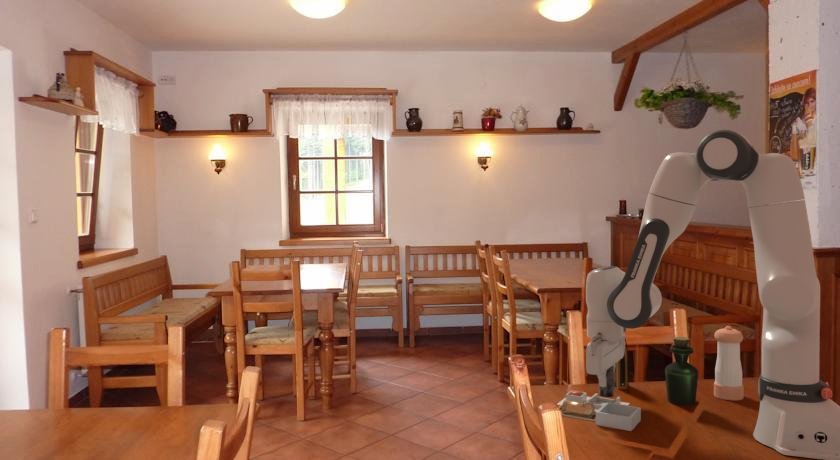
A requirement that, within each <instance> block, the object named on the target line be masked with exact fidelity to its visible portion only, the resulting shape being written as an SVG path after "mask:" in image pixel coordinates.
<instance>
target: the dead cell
mask: <svg viewBox="0 0 840 460" xmlns="http://www.w3.org/2000/svg"><path fill="white" fill-rule="evenodd" d="M606 372H607V373H606V379H608V385H607V386H606V387H600V386H599V385H598V396H599V397H603V398H612V397H615V396H616V395H615V394H616V393H615V391H616V390H615V386H614V368H613V367H610V368H609V369H608V370H606Z"/></svg>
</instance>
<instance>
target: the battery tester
mask: <svg viewBox="0 0 840 460" xmlns="http://www.w3.org/2000/svg"><path fill="white" fill-rule="evenodd" d="M571 391H574V390H570V391H568V392H567V393H565V397H564V398H563V399H562V400H560V401H559V402H558V403H556V405H557V406H560V405H562V404H563V402H564V400H570V401H576V402H582V403H588V404H593V405H594V407H595V411H598V410H599V409H600V408H601V407H602V406H603V405H604V404H605V403H606V402H608V403H615V404H621V405H627V406H630V404H631V403H630V402H626V401H625V402H624V401H621V396H617V397H615V399H614V398H610V397H602V396H599V392H598V393H594V394H593V395H592V396H588V394H587V392H584V391H581V392H582V395H581V396H574V395H571Z"/></svg>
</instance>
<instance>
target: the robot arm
mask: <svg viewBox="0 0 840 460" xmlns="http://www.w3.org/2000/svg"><path fill="white" fill-rule="evenodd" d="M710 181H711V182H712V181H722V182H724V181H726V182H727V181H737V182H739V183H740V184H742V187H743V189H744V193H745V196H746V197H745V198H746V202H747V203H746V204H747V209H748V214H749V215H748V217H749V222H750V227H751V234H752V235H751V236H752V241H753V248H754V249H753V250H754V261H755V271H756V272H755V273H756V282H757V289H758V297H759V301H760V304H761V306H762V308H763V310H762V311H763V312H762V313H763V315H762V331H761V373H760V374H759V376H758V377H759V378H758V399H759V400H760V401H759V410H758V416H757V421H756V424H755V428H754V431H753V433H752V436H753V438H754V440H755V441H758V442H759V443H761V444H762V445H765V446H767V447H770V448H771V449H773V450H776V451H777V452H778V453H780V454H782V455H783V456H784V455H785V456H788V457H789V456H792V457H800V458H808V459H815V460H816V459H817V460H840V405H838V404H837V403H836V402H835V401H833V400H832V399H831V398H832V397H833V391H832V389H831V386H830V385H829V382H827V381H826V382H824V381H823V380H821V379H820V338H821V337H820V334H821V333H820V332H821V331H820V330H821V327H820V326H821V311H820V310H821V284H820V280H819V278H818V276H817V270H816V264H815V258H814V257H815V256H814V250H813V243H812V234H811V228H810V223H809V217H808V211H807V204H806V198H805V194H804V189H803V183H802V181H801V177H800V175H799V172H798V168H797V167H796V164H795V162H794V160H793V159H792V158H791V157H790V156H788V155H786V154H783V153H776V152H770V153H758V151H756V149H755V148H754V146H753V145H752V143H751V142H750V140H749V139H748V138H747V137H746V136H745V135H743V134H741V133H739V132H736V131H734V130H730V129H720V130H719V129H718V130H715V131H712V132H709V133H708V134H706V135H705V136H704V137H703V138H702V139H701V141H700V142H699V143H698V145H697V148H696V152H694V153H693V152H692V153H690V152H685V151H684V152H683V151H677V152H673V153H669V154H667V155H666V156H665V157H664V158H663V160H662V162H661V163H660V166H659V167H658V169H657V171H656V173H655V176H654V178H653V180H652V183H651V186H650V189H649V191H648V194H647V197H646V201H645V205H644V210H643V215H642V219H641V223H640V224H641V225H640V227H639V228H640V229H639V233H638V237H637V240H636V243H635V246H634V249H633V252H632V254H631V258H630V260H629V263H628V265H627V267H626V271H623V270H622V269H620V268H619V267H618V266H616V265H607V266H602V267H598V268H597V267H596V268H593V269H592V270H590V271H589V272H588V273H587V276H586V281H585V282H586V283H585V303H586V307H587V313H586V337H588V338H590V339H591V341H590V342H588V343H587V346H586V350H585V351H586V354H585V355H586V356H585V357H586V359H585V360H586V361H585V364H586V365H585V367H586V368H585V370H586V373H587V374H588V375H595V376H597V379H598V387H599V386H600V387H606V386H607V385H608V379H606V373H607V372H606V370H608V369H609V368H610V367H613V368H614V371H615V363H617V362H618V361H619V360H620V359H622V358H623V356H624V351H625V347H626V343H625V338H626V334H625V333H626V332H627V330H628V329H629V330H630V329H638V328H640V327H642V326H643V325H646V323H647V322H648V320H649V319H650V318H651V317H653V316H654V315H656V313H657V312H658V311H659V310H660V308H661V306H662V303H663V295H662V292H661V290H660V287H659V286H657V284H655V283H653V282H654V280H655V277H656V273H657V272H658V269H659V266H660V263H661V260H662V258H663V257H664V256H663V255H664V254H665V252H666V250H667V249H668V248H669V247H670V246H671V244H672V243H673V242H674V241H675V240H676V239H677V238H679V237H680V236H681V235H682V234H683V233H684V232H685V230H686V229H687V227H688V225H689V223H690V221H691V219H692V218H693V215H694V214H695V210H696V208H697V204H698V202H699V198H700V195H701V192H702V191H703V188H704V187H705V185H707V183H708V182H710Z"/></svg>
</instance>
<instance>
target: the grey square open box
mask: <svg viewBox="0 0 840 460" xmlns="http://www.w3.org/2000/svg"><path fill="white" fill-rule="evenodd" d="M641 413H642V408H641V407H640V406H639V407H638V406H633V405H628V406H627V405H621V404H615V403H608V402H606V403H605V404H604V405H603V406H602V407H601V408H600V409H599V410H598V411H596V413H595V417H596V421H595V425H596V426H601V427H606V428H612V429H617V430H623V431H628V432H629V431H630V432H632V431H633V430H634V429H635V428H636V426H637V425H638V424H639V423H640V422H641V421H642V419H641V418H642V417H641V415H642V414H641Z"/></svg>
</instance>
